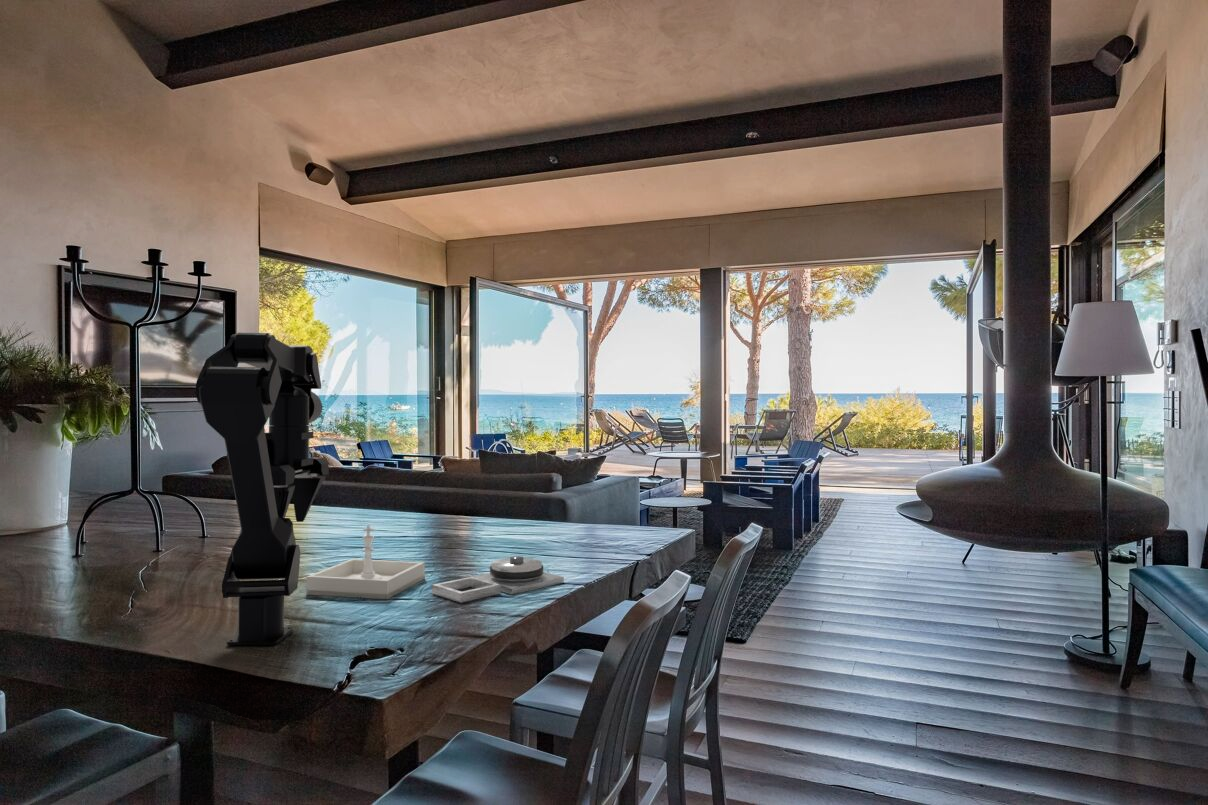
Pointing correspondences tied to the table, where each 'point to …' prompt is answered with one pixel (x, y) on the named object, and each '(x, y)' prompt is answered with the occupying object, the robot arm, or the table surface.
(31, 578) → the table surface
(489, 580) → the bracket
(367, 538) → the chess piece
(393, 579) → the tray
